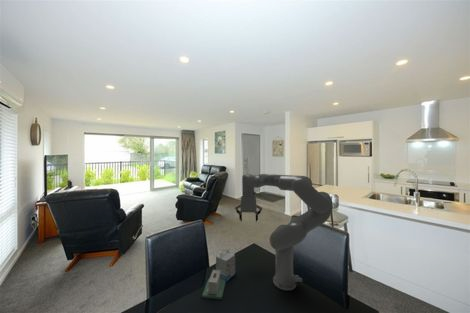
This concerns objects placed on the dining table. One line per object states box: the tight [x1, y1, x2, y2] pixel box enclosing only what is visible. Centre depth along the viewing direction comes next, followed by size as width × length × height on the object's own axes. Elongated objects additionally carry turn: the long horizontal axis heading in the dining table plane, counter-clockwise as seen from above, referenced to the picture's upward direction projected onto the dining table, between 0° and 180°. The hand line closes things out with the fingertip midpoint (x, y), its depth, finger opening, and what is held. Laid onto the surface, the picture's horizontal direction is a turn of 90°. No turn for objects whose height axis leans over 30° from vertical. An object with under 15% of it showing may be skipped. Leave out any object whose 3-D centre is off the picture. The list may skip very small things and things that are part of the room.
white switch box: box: [208, 269, 222, 295], centre depth 91 cm, size 4×9×7 cm, turn 173°
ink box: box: [215, 249, 236, 282], centre depth 103 cm, size 9×8×13 cm
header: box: [201, 278, 227, 300], centre depth 91 cm, size 10×12×6 cm
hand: (248, 220), depth 108 cm, fingers open, 9 cm apart
